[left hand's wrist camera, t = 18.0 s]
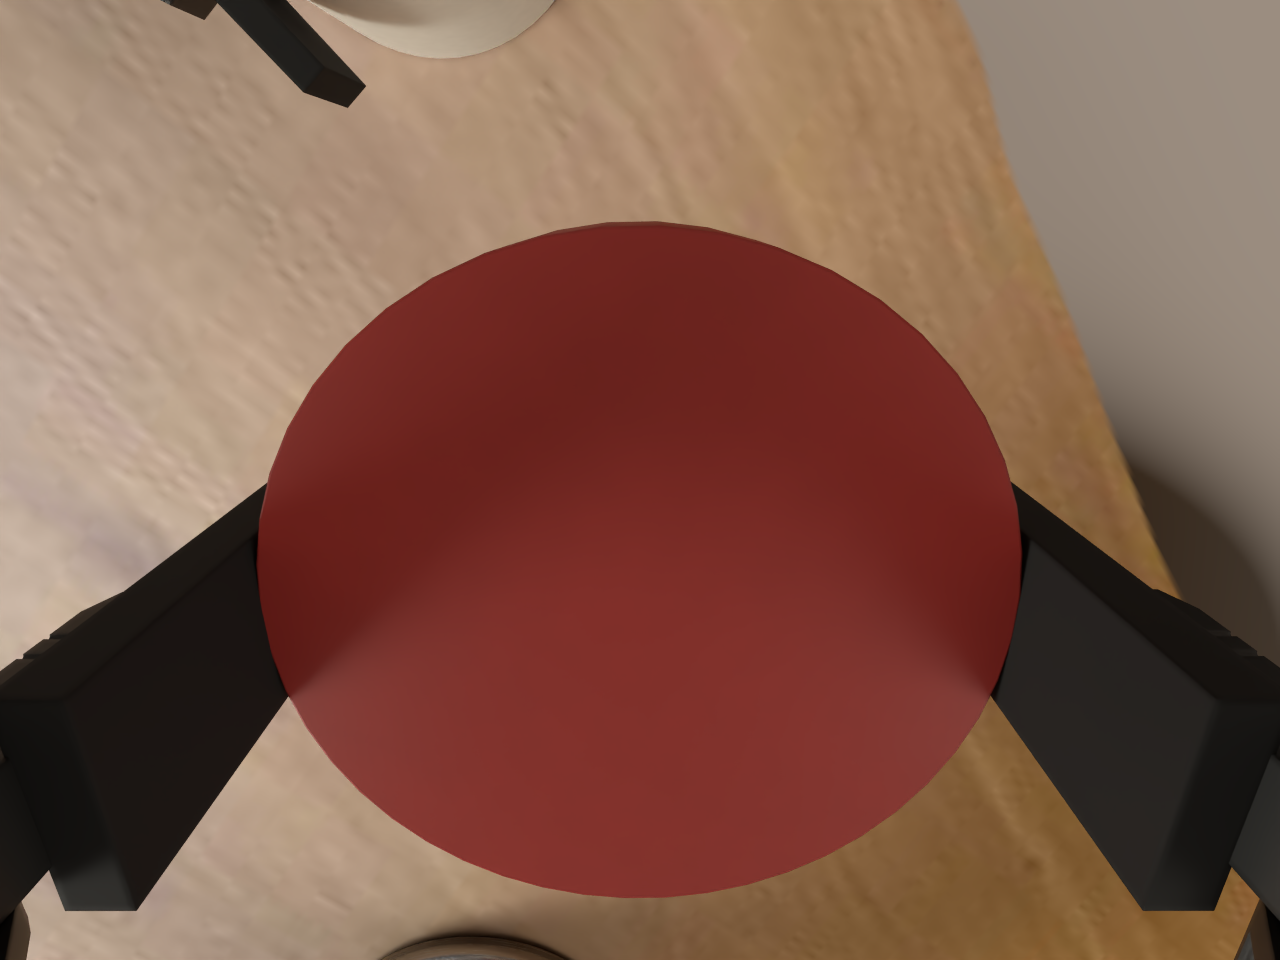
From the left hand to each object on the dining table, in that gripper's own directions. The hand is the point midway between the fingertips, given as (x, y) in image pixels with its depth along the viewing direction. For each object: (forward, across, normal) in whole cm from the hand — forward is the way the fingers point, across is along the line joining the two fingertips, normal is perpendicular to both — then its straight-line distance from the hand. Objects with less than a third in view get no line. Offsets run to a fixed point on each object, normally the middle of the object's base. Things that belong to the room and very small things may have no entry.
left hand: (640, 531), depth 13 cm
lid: (-3, 0, 0) cm, 3 cm away
